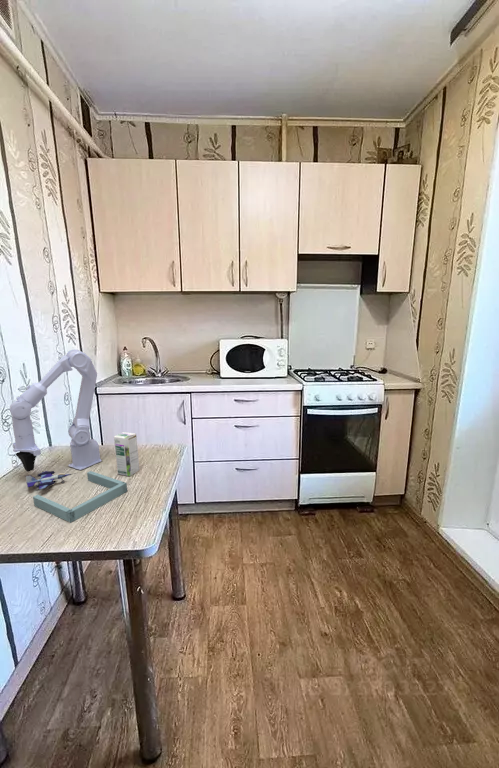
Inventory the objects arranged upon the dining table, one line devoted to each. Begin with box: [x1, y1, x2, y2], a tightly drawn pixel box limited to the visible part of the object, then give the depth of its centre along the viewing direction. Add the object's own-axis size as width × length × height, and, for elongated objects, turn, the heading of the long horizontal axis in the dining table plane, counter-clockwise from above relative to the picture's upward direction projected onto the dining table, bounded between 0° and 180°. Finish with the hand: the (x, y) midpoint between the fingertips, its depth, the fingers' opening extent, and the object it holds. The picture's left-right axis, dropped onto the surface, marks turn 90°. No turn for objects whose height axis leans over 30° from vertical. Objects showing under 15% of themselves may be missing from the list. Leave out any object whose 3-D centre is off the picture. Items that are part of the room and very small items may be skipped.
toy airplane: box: [25, 470, 77, 492], centre depth 124 cm, size 13×14×4 cm
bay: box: [32, 470, 128, 523], centre depth 114 cm, size 20×18×3 cm
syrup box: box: [113, 431, 141, 477], centre depth 131 cm, size 6×6×14 cm
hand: (29, 470), depth 129 cm, fingers closed
